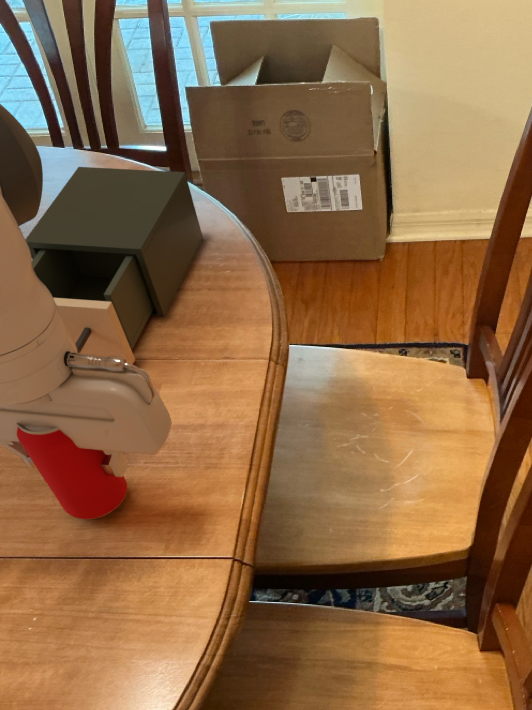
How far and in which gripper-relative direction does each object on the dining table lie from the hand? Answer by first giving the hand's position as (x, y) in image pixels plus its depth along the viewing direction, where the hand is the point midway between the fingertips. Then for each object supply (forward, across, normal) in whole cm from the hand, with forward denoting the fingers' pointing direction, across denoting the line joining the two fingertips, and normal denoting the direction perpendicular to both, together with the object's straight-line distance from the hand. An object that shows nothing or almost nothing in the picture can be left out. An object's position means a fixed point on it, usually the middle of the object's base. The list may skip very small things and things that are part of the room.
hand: (78, 467), depth 70 cm
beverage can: (+5, 0, 0) cm, 5 cm away
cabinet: (+6, +10, -36) cm, 37 cm away
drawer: (+5, +10, -24) cm, 26 cm away
